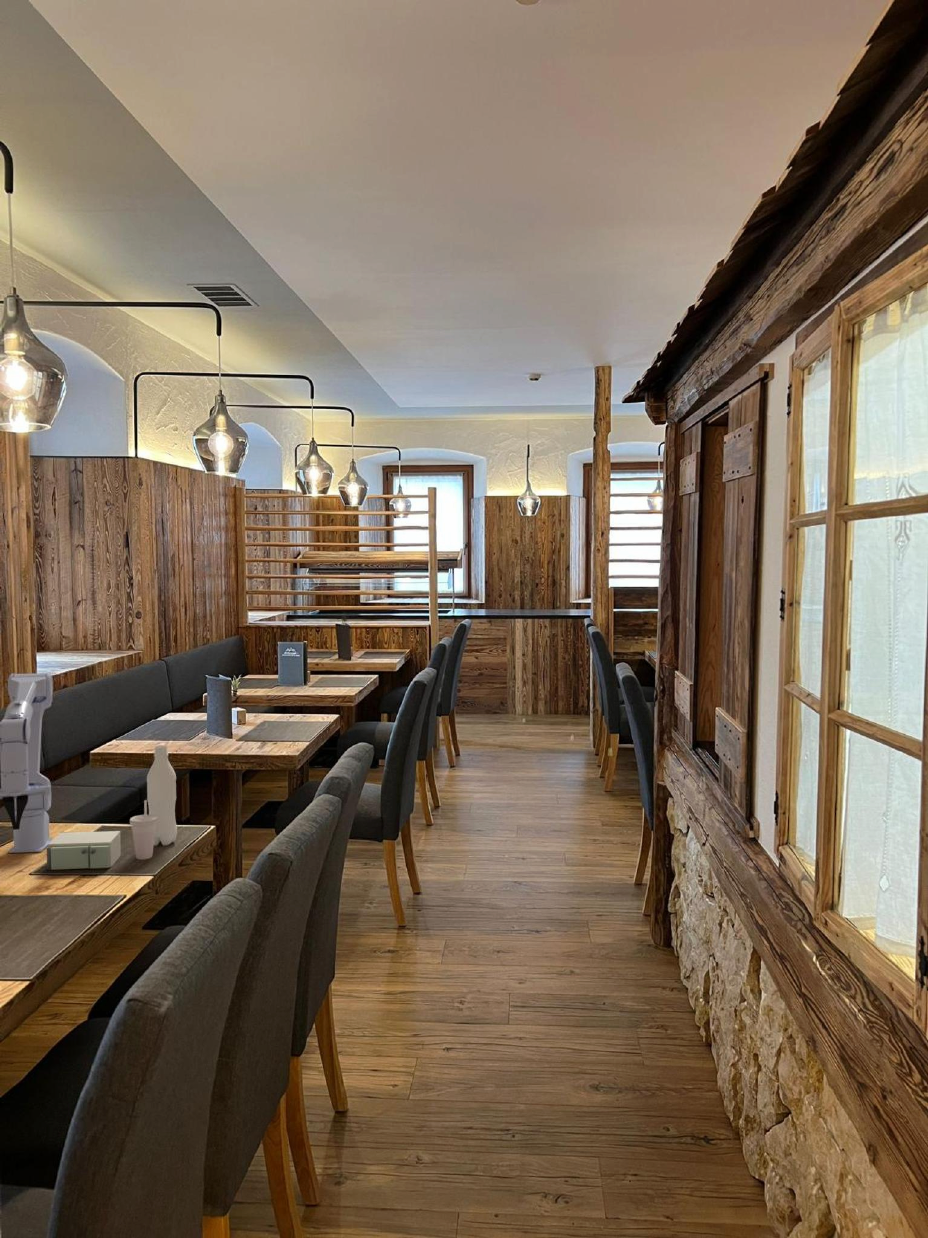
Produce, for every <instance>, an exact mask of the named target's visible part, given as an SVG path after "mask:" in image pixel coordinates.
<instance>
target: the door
mask: <svg viewBox="0 0 928 1238" xmlns="http://www.w3.org/2000/svg"><path fill="white" fill-rule="evenodd" d="M89 867H90V856H89V845H87V846H61V847H52V848H51V847H48V846H47V847H46V869H47V871H48V870H70V869H71V870H72V869H73V870H75V869H76V870H78V869H90V868H89Z"/></svg>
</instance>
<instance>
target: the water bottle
mask: <svg viewBox="0 0 928 1238" xmlns="http://www.w3.org/2000/svg"><path fill="white" fill-rule="evenodd" d="M153 757H154V759H153V760H154V761H153V763H152V765H151V767H150V769H149V771H148V773H147V775H146V782H147V783H146V788H147V789H146V794H147V797H146V800H147V805H148V806H147V807H148V815H155V816H157V820H158V821H157V822H156V828H155V837H154V846H158V845H159V844H160V842H161V844H162V846H168V845H170V844H171V843H174V842H175V841H176V838H177V836H178V827H177V822H176V821H177V820H176V811H175V810H176V801H177V783H176V781H177V776H176V775H177V774H176V772H175V770H174V768H173V766H172V765H171V763H170V761H169V751H168V745H166V744H160V745H155V746H154V754H153Z"/></svg>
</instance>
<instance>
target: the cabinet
mask: <svg viewBox="0 0 928 1238" xmlns="http://www.w3.org/2000/svg"><path fill="white" fill-rule="evenodd" d="M121 836H122V835H121V831H120V830H113V831H111V830H109V831H108V830H107V831H105V830H104V831H80V832H79V831H76V832H75V831H74V832H71V831H70V832H60V833H59V834H58V835H56V837H54V838H52V839H53V840H52V841H51V842H50V843H49V844H48V846H47V847H51V848H52V847H61V846H87V845H89V856H90V867H89V868H88V869H108V868H109V869H110V868H112V866H114V865H115V863H116V862H117V861H118V859H119V858H120V857H121V855H122V850H121V849H122V847H121V845H122V844H121V841H122V839H121Z"/></svg>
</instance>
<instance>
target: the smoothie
mask: <svg viewBox="0 0 928 1238" xmlns="http://www.w3.org/2000/svg"><path fill="white" fill-rule="evenodd" d="M143 803H144V806H143V807H144V808H143V812H144V813H143V814H139V815H134V816H132V817H130V819H129V824H130V826H131V832H132V838H133V844H134V850H135V858H136V860H148V859H151V858H153V853H154V846H155V845H154V837H155V828H156V822H157V821H158V820H157V816H155V815H149V814H148V806H147V805H148V801H147V799H144V801H143Z"/></svg>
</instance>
